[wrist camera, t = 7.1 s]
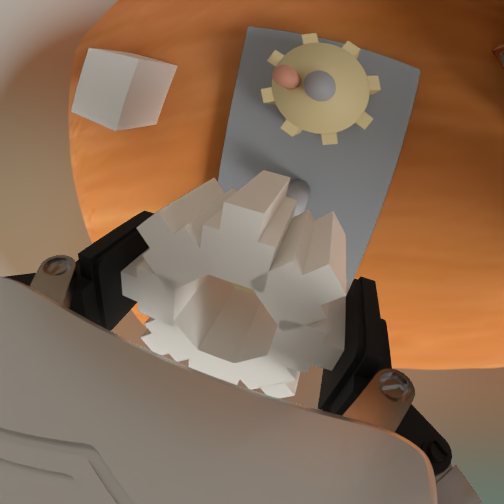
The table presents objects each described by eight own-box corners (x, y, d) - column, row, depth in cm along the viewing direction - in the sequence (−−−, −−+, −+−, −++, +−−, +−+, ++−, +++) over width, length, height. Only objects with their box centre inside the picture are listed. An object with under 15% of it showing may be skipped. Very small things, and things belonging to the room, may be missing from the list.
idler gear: (377, 204, 10) (395, 255, 6) (314, 350, 14) (301, 419, 10) (183, 151, 11) (117, 174, 7) (170, 300, 15) (128, 353, 11)
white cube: (157, 124, 25) (115, 131, 20) (113, 106, 25) (70, 112, 20) (178, 65, 22) (138, 58, 17) (131, 52, 22) (88, 47, 17)
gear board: (414, 73, 17) (450, 55, 10) (330, 317, 29) (322, 380, 22) (255, 32, 19) (215, 0, 12) (210, 278, 31) (172, 329, 24)
